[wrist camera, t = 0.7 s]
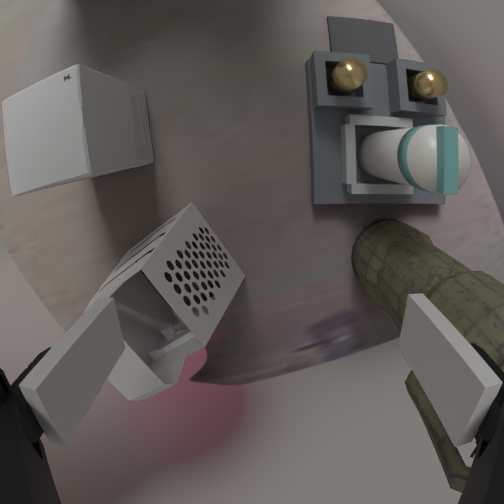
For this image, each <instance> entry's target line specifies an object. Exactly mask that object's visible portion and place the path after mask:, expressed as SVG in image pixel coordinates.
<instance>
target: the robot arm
mask: <svg viewBox="0 0 504 504" xmlns="http://www.w3.org/2000/svg"><path fill="white" fill-rule="evenodd" d="M398 347H399V349H400V350H401V352H402V354H403V355H404V357H405V359H406V360H407V362H408V364H409V366H410V367H411V369H412V371H413V372H414V374H415V376H416V377H417V379H418V381H419V383H420V384H421V386H422V388H423V390H424V391H425V393H426V395H427V397H428V399H429V400H430V402H431V404H432V406H433V408H434V409H435V411H436V413H437V415H438V417H439V419H440V421H441V422H442V424H443V426H444V428H445V430H446V432H447V434H448V436H449V438H450V439H451V441H452V443H453V445H454V447H457V446H460V445H463V444H466V443H469V442H471V441H472V440H473V438H474V436H475V435H476V433H477V431H478V430H479V432H480V434H481V435H482V438H481V440H480V441H479V443H478V445H477V446H476V448H475V449H474V451H473V453H472V454H471V456H470V457H473V456H474V454H475V453H476V454H475V457H474V460H473V464H472V467H471V470H470V473H469V475H468V478H467V481H466V484H465V487H464V489H463V492H462V495H461V497H460V500H459V503H458V504H504V372H503V371H502V370H501V368H500V367H499V366H498V365H497V364H495V362H494V360H493V359H492V358H490V356H489V355H488V354H487V353H486V351H485V350H484V349H483V348H481V347H479V346H478V345H476V344H474V343H469V342H468V341H467V340H466V339H465V338H464V337H463V336H462V335H461V334H460V332H459V331H458V330H457V329H456V328H455V327H454V326H453V325H452V324H451V323H450V322H449V320H448V319H447V318H446V317H445V316H444V315H443V314H442V313H441V312H440V311H439V310H438V309H437V308H436V307H435V306H434V305H433V304H432V303H431V302H430V300H429V299H428V298H427V297H426V296H425V295H424V294H423V293H419V294H408V298H407V303H406V309H405V314H404V319H403V324H402V329H401V334H400V338H399V343H398ZM124 350H125V345H124V341H123V337H122V332H121V328H120V324H119V319H118V315H117V310H116V306H115V301H114V298H107V297H99V298H98V299H97V300H96V301H95V302H94V303H93V304H92V305H91V306H90V308H89V309H88V310H87V311H86V312H85V313H84V314H83V315H82V316H81V317H80V318H79V319H78V320H77V321H76V322H75V323H74V324H73V325H72V326H71V327H70V328H69V329H68V331H67V332H66V333H65V334H64V335H63V336H62V337H61V338H60V339H59V340H58V341H57V342H56V344H55V345H54V346H53V347H52V348H50V347H49V348H48V349H46V350H44V351H43V352H41V353H40V354H39V355H38V356H37V357H36V358H35V359H34V360H33V363H30V365H29V366H28V368H27V369H25V370H24V371H23V372H22V373H21V375H20V376H19V377H18V378H17V379H16V380H15V381H14V383H13V384H12V385H11V386H10V384H9V382H8V380H7V378H6V376H5V373H4V371H3V370H2V369H0V504H61V501H60V499H59V496H58V493H57V490H56V487H55V484H54V481H53V478H52V474H51V471H50V468H49V464H48V461H47V457H46V454H45V450H44V446H43V443H42V442H41V440H40V437H41V435H42V434H43V432H44V433H45V435H46V436H47V438H48V440H49V441H50V443H53V444H56V445H59V446H63V447H65V448H67V446H68V445H69V443H70V441H71V439H72V437H73V435H74V434H75V432H76V430H77V429H78V427H79V425H80V423H81V421H82V420H83V418H84V416H85V415H86V413H87V411H88V410H89V408H90V406H91V404H92V403H93V401H94V399H95V398H96V396H97V394H98V393H99V391H100V389H101V388H102V386H103V384H104V382H105V381H106V379H107V378H108V376H109V374H110V373H111V371H112V369H113V368H114V366H115V365H116V363H117V361H118V360H119V358H120V356H121V355H122V353H123V352H124Z"/></svg>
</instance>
